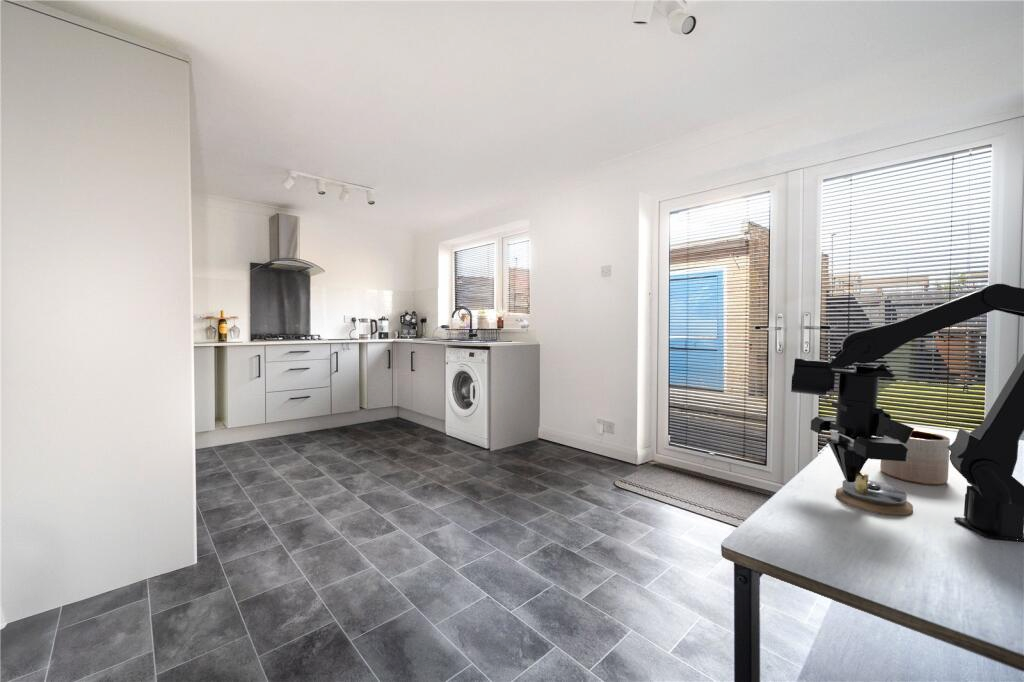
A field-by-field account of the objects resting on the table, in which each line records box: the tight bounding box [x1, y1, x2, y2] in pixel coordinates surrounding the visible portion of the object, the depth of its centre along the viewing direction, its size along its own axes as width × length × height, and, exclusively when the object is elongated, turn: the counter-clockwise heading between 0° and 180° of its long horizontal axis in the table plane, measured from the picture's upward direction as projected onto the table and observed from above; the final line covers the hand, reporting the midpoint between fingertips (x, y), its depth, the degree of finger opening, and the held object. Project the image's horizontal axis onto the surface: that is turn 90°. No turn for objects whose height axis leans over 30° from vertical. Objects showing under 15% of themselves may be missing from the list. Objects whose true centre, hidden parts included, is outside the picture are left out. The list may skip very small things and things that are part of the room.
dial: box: [842, 472, 908, 506], centre depth 81 cm, size 9×9×5 cm
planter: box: [880, 429, 951, 486], centre depth 94 cm, size 11×11×10 cm
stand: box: [835, 487, 914, 517], centre depth 81 cm, size 11×11×2 cm
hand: (850, 481), depth 80 cm, fingers closed
